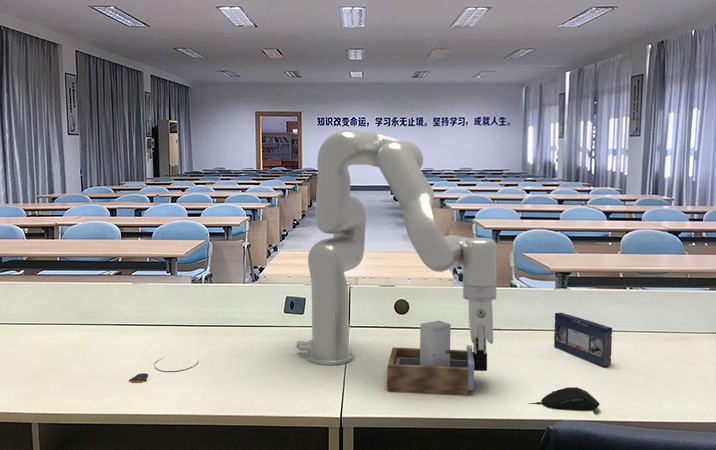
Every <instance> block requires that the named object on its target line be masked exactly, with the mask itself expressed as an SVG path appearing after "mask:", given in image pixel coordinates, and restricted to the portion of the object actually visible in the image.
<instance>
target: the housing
mask: <svg viewBox="0 0 716 450" xmlns="http://www.w3.org/2000/svg"><path fill="white" fill-rule="evenodd" d="M466 356H467V349H466V350H465V349H463V350H462V349H450V359H451V360H466ZM397 357H405V358H420V347H419V348H418V347H417V348H416V347H392V349H391V352H390V355H389V359H388V363H387V371H386V372H387V375H386V376H387V377H386V378H387V382H386V384H387V389H386V390H387V391H386V392H394V393H414V394H415V393H416V394H434V395H450V396H466V397H467V396H468V395H469V390H468V368H466V367H444V366H422V365H401V364H396V360H397Z"/></svg>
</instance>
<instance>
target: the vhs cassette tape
mask: <svg viewBox="0 0 716 450" xmlns="http://www.w3.org/2000/svg"><path fill="white" fill-rule="evenodd" d="M553 331H554V336H553V341H554V342H553V347H554V348H555V349H557V350H560V351H562V352H565V353H567V354H570V355H572V356H575V357H577V358H580V359H582V360H585V361H587V362H591V363H593V364H596V365H598V366H601V367H609V366H611V365H612V341H613V336H612V335H613V328H612V327H609V326H607V325H604V324H600V323H598V322H594V321H591V320H588V319H584V318H581V317H579V316H578V317H577V316H575V315H571V314H567V313H564V312H555V313H554V330H553Z"/></svg>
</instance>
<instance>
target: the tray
mask: <svg viewBox="0 0 716 450" xmlns="http://www.w3.org/2000/svg"><path fill="white" fill-rule="evenodd" d="M466 351H467V356H466V360H451V359H450V367H466V368H468V391H474V390H475V389H474V388H475V371H474V358H473V352H474V350H473V345H471V344H469V345H468V344H467V345H466ZM396 364H401V365H420V358H405V357H397V360H396Z"/></svg>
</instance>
